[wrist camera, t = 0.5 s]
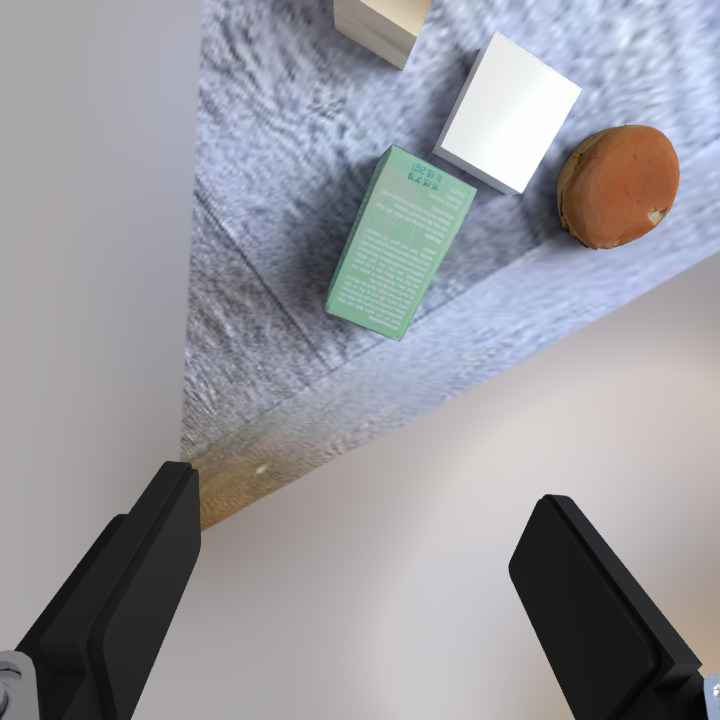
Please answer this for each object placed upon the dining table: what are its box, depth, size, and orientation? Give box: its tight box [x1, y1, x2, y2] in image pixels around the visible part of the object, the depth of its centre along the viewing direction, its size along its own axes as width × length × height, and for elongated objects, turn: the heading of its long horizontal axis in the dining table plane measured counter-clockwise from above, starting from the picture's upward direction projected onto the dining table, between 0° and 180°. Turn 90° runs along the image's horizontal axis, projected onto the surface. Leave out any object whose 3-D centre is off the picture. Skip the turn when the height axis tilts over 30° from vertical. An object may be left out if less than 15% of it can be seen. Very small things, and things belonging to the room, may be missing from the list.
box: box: [324, 144, 477, 341], centre depth 30 cm, size 7×14×8 cm, turn 157°
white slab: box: [432, 31, 582, 195], centre depth 29 cm, size 8×8×3 cm
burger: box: [557, 125, 680, 250], centre depth 31 cm, size 10×9×5 cm
